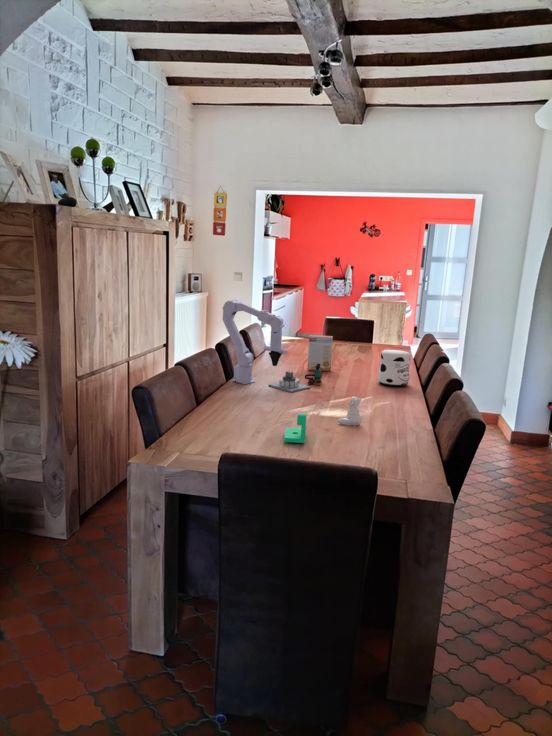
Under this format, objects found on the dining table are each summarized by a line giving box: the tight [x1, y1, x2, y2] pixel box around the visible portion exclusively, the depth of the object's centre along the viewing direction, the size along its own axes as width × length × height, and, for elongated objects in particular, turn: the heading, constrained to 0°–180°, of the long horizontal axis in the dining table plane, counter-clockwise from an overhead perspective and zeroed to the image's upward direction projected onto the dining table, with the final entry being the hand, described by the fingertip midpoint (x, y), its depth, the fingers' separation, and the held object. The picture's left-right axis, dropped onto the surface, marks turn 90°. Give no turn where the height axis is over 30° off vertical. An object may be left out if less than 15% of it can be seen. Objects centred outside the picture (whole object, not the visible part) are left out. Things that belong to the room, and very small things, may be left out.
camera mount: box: [283, 413, 308, 444], centre depth 203 cm, size 12×8×10 cm, turn 175°
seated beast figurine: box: [337, 396, 363, 427], centre depth 224 cm, size 10×9×12 cm
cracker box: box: [307, 334, 334, 372], centre depth 321 cm, size 14×6×21 cm, turn 84°
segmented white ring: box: [278, 377, 300, 388], centre depth 279 cm, size 10×10×3 cm
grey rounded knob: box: [282, 370, 296, 381], centre depth 279 cm, size 7×7×7 cm
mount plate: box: [268, 381, 310, 394], centre depth 280 cm, size 16×14×1 cm
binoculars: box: [304, 364, 324, 386], centre depth 290 cm, size 9×11×10 cm
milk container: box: [377, 349, 411, 387], centre depth 295 cm, size 17×17×18 cm
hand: (274, 365), depth 281 cm, fingers closed
